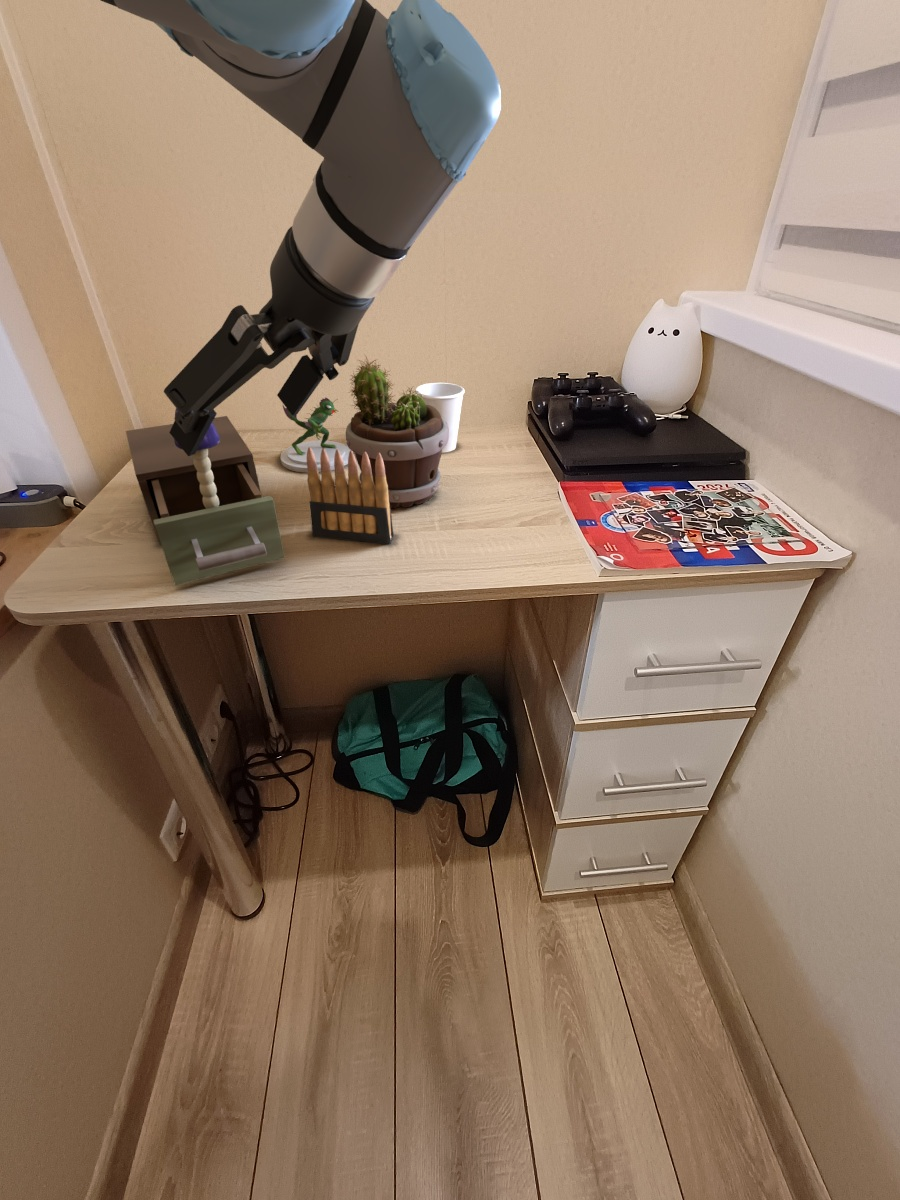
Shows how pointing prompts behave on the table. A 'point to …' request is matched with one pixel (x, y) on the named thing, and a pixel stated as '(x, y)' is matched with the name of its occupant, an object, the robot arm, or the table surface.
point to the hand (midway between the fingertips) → (238, 422)
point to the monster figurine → (297, 453)
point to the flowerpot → (397, 437)
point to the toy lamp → (206, 467)
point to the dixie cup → (445, 406)
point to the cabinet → (181, 457)
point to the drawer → (215, 524)
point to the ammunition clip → (349, 500)
